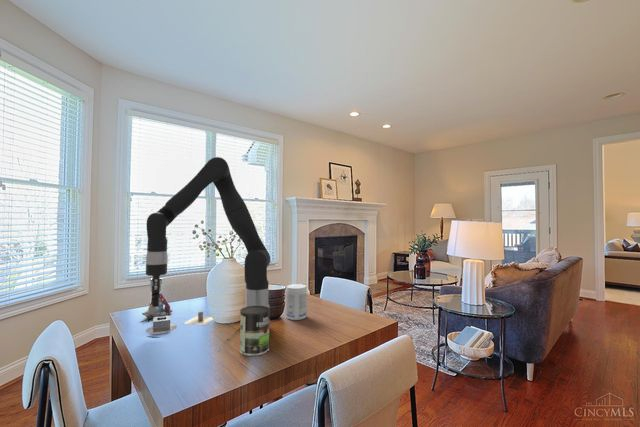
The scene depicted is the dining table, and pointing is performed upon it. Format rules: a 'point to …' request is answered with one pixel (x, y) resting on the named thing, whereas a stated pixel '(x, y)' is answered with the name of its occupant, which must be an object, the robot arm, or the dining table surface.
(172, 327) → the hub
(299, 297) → the supplement tub
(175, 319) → the dining table surface
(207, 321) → the stand
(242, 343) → the coffee can
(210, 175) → the robot arm
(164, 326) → the square socket block
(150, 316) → the brake caliper
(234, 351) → the dining table surface
